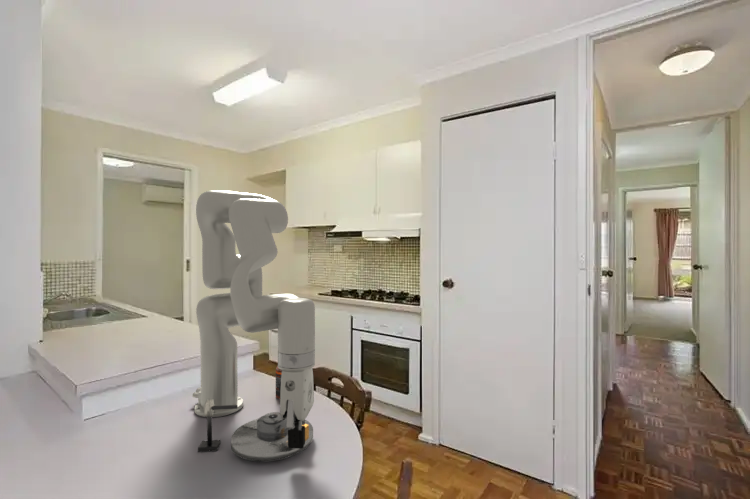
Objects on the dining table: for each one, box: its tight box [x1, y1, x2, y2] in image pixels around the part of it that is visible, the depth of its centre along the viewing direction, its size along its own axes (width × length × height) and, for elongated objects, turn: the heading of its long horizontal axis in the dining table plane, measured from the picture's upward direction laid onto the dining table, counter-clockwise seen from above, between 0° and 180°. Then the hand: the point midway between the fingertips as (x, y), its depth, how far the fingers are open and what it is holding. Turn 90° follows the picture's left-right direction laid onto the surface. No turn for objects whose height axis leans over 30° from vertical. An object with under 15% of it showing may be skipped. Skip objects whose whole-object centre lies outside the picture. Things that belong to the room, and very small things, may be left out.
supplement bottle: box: [275, 365, 282, 400], centre depth 116 cm, size 6×6×11 cm
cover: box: [257, 411, 288, 441], centre depth 88 cm, size 7×7×4 cm
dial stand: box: [197, 399, 238, 453], centre depth 87 cm, size 8×4×11 cm, turn 97°
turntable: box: [230, 418, 314, 462], centre depth 89 cm, size 18×18×4 cm
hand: (296, 446), depth 81 cm, fingers closed
